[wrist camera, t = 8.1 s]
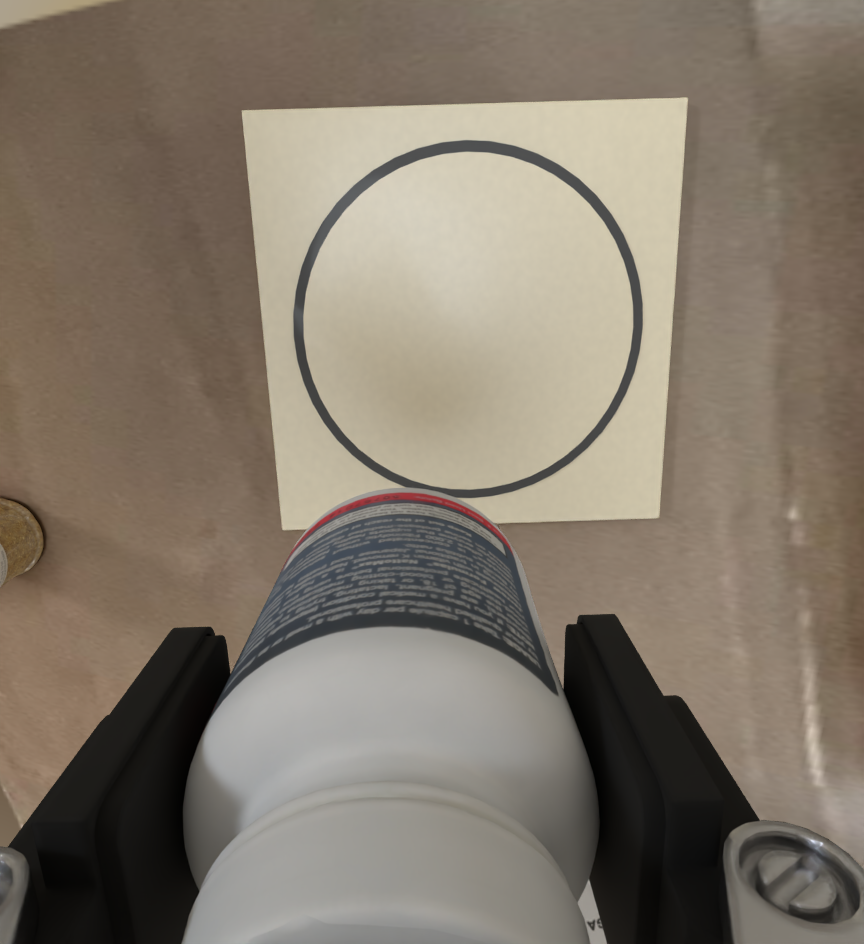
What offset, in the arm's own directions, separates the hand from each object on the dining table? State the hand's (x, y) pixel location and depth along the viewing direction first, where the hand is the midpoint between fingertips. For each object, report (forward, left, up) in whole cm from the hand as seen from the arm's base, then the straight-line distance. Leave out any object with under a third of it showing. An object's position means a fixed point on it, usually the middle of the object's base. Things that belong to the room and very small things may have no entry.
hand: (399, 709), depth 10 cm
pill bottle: (0, 0, -4) cm, 4 cm away
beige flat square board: (-4, +3, -24) cm, 25 cm away
